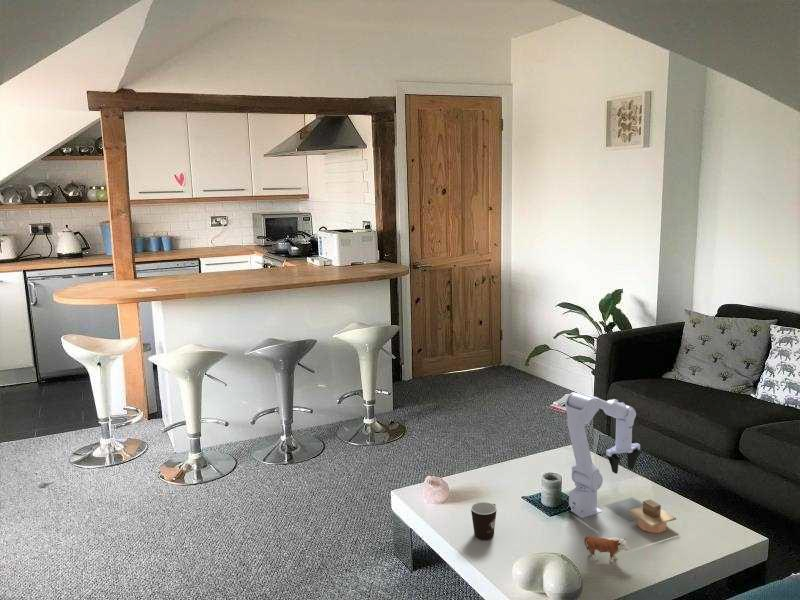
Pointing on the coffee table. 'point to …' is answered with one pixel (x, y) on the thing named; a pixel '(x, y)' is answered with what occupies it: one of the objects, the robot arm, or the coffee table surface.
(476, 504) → the coffee mug
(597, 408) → the robot arm
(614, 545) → the bull figurine
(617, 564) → the coffee table surface
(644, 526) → the terracotta bowl
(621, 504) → the mat
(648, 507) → the oak lid
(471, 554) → the coffee table surface
